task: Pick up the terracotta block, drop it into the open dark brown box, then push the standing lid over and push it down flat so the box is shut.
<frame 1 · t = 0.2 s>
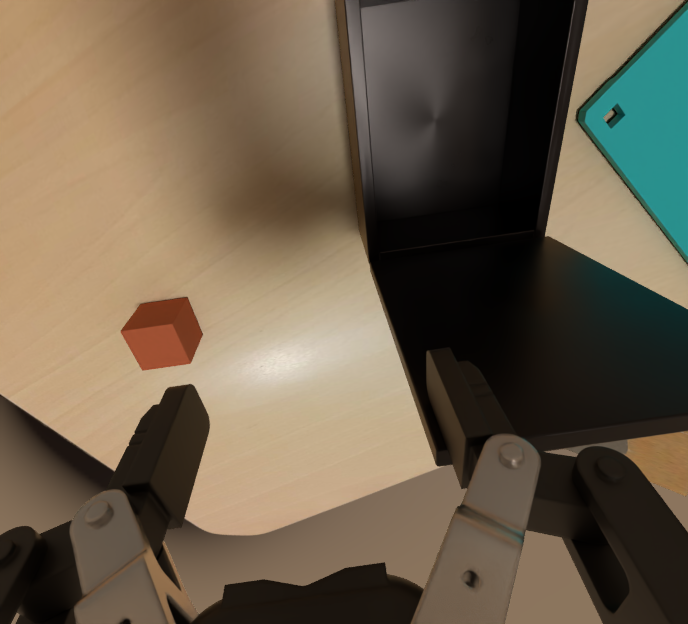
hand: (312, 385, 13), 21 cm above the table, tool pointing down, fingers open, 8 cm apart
sandwich container: (515, 367, 43), on the table
lid: (513, 308, 19), point 15 cm above the table, hinge at 85.3°
block: (172, 319, 35), on the table
dark brown box: (431, 119, 28), on the table
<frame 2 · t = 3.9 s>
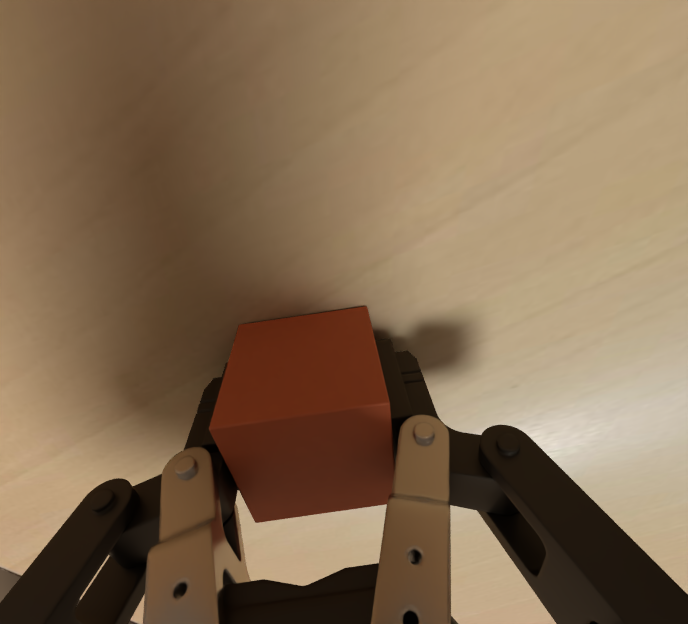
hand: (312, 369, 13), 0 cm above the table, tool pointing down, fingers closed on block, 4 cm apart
block: (313, 363, 14), on the table, touching gripper
when the fingers open (5 cm above the table, at t = 10.9 s): block drops 4 cm, resting on dark brown box.
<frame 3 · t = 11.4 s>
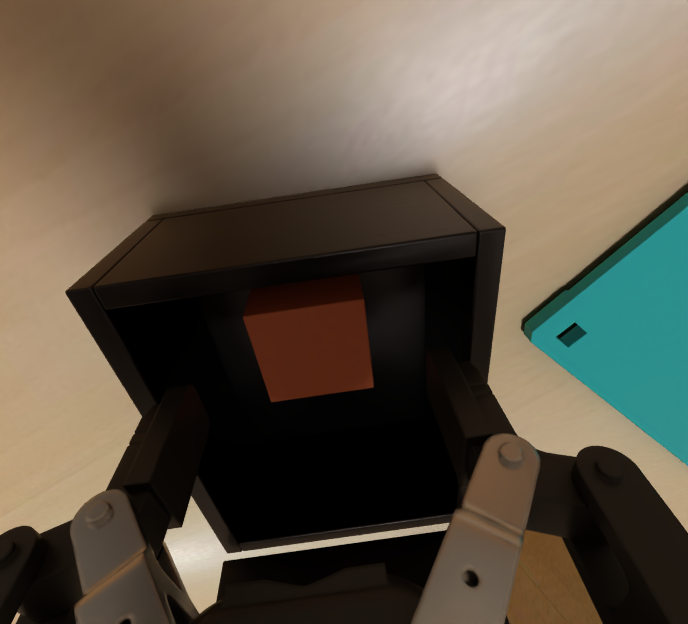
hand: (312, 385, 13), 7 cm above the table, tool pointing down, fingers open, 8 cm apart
sandwich container: (470, 545, 35), on the table
block: (313, 298, 18), point 1 cm above the table, touching dark brown box
dark brown box: (322, 336, 20), on the table
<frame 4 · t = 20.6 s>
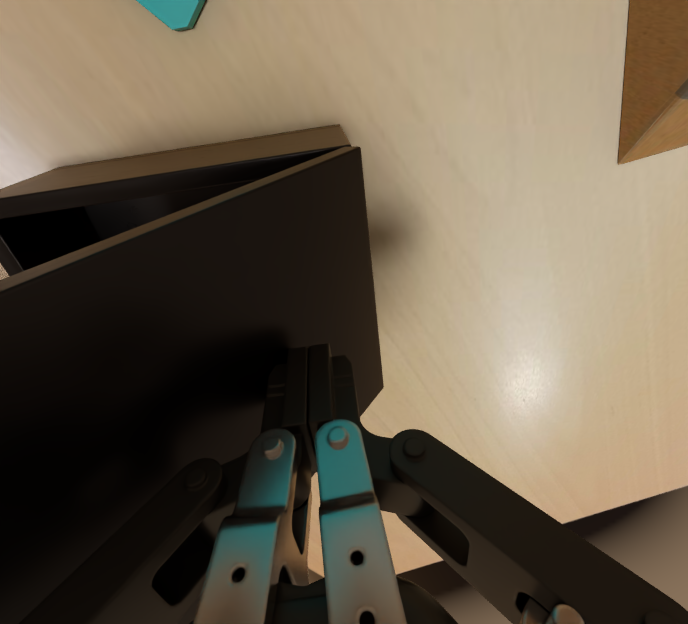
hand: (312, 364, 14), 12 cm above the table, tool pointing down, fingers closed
lid: (234, 405, 12), point 14 cm above the table, hinge at 49.7°
dark brown box: (232, 251, 24), on the table
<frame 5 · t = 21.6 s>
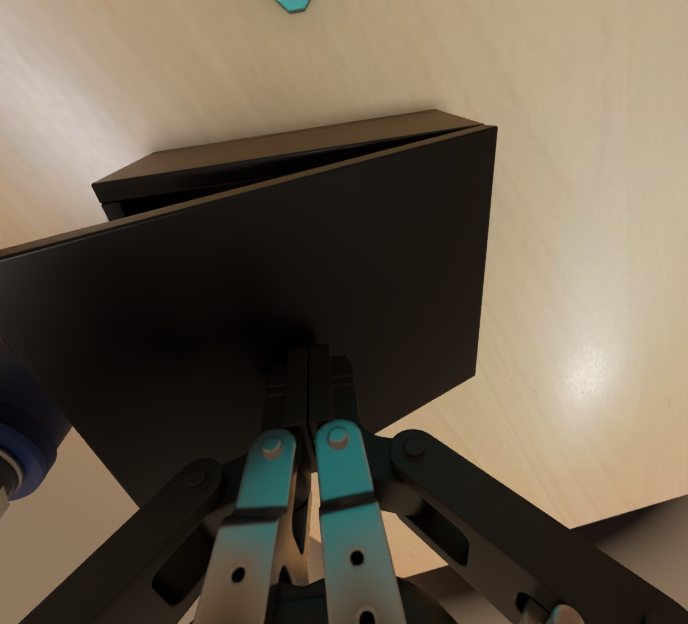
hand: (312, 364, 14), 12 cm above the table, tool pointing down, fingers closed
lid: (325, 342, 14), point 11 cm above the table, hinge at 25.7°, touching gripper
dark brown box: (314, 239, 23), on the table
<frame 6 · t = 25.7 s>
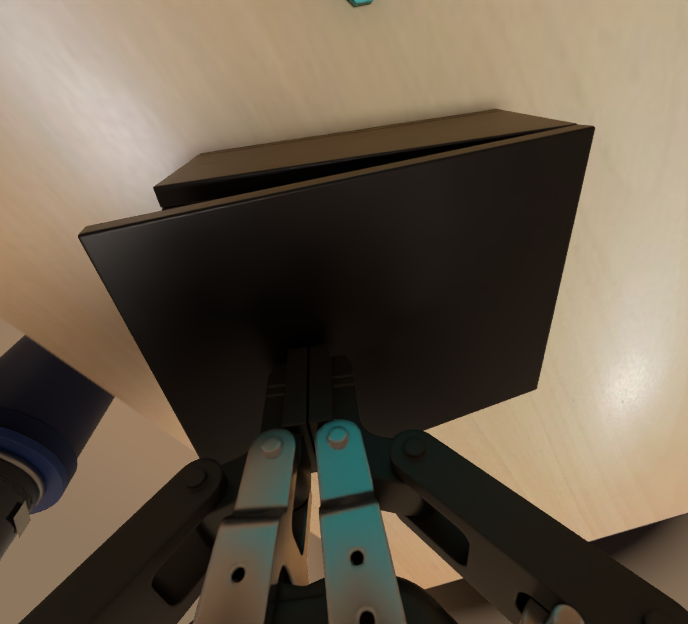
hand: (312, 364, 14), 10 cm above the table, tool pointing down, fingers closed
lid: (382, 333, 15), point 9 cm above the table, hinge at 13.6°, touching gripper
dark brown box: (360, 244, 22), on the table
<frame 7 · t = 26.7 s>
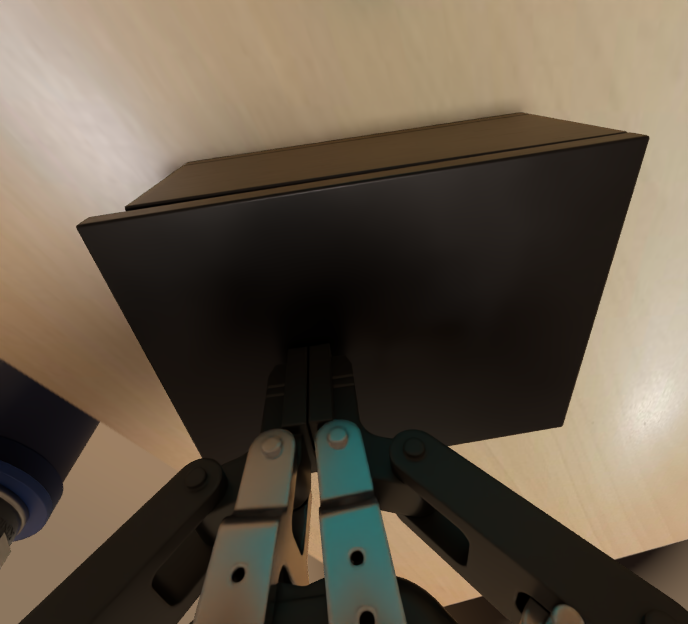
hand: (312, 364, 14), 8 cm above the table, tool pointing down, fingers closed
lid: (380, 346, 14), point 8 cm above the table, hinge at 1.8°, touching gripper
dark brown box: (366, 261, 20), on the table
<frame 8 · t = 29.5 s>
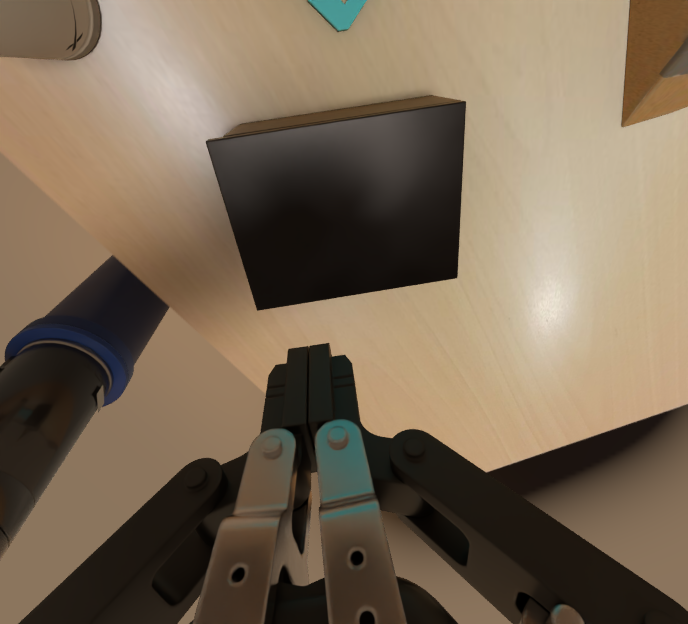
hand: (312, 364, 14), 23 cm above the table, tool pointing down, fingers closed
travel mug: (55, 4, 25), on the table
sandwich container: (684, 1, 27), on the table
lid: (348, 217, 27), point 8 cm above the table, hinge at 1.8°
dark brown box: (345, 189, 33), on the table
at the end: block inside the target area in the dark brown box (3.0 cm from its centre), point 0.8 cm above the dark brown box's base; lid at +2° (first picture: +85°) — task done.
